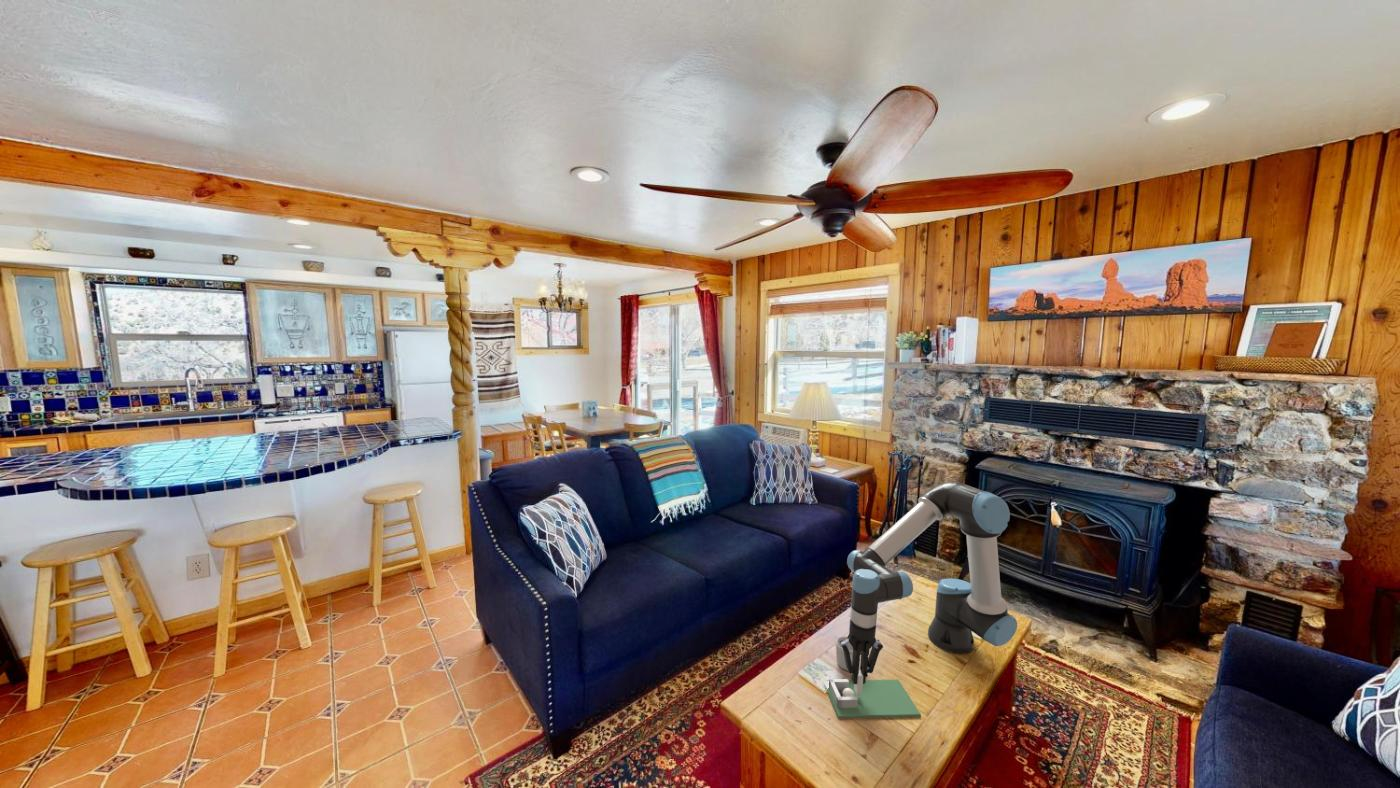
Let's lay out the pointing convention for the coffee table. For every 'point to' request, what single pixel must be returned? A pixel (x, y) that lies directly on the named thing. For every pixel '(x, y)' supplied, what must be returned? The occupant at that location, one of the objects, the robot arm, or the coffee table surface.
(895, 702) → the green mat
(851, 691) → the ball
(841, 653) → the cup
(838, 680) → the white u-shaped bracket
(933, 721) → the coffee table surface
